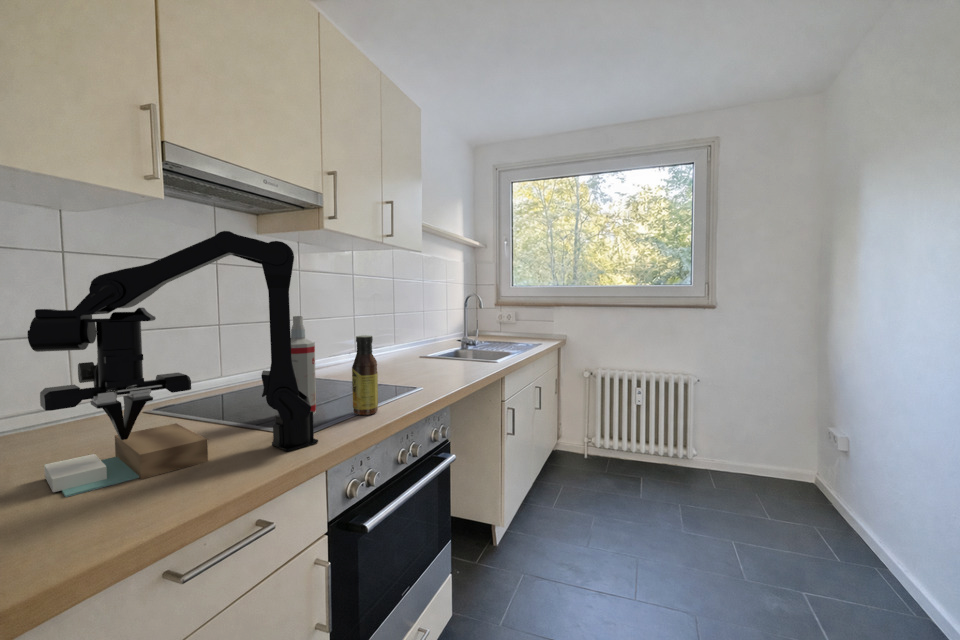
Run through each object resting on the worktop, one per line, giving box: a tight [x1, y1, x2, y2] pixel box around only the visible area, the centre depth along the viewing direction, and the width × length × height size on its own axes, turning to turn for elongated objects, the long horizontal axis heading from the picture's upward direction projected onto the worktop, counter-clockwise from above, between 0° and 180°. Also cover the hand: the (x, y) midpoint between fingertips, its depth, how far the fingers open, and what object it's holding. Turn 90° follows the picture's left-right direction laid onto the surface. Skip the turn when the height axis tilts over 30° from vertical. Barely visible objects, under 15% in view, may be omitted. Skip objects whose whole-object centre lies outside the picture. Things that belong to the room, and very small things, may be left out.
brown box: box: [114, 422, 209, 480], centre depth 75 cm, size 10×16×4 cm, turn 52°
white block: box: [43, 453, 107, 493], centre depth 66 cm, size 6×9×2 cm, turn 52°
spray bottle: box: [290, 315, 317, 416], centre depth 104 cm, size 8×8×25 cm
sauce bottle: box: [351, 334, 379, 416], centre depth 105 cm, size 6×6×20 cm
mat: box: [60, 456, 140, 498], centre depth 68 cm, size 9×14×1 cm, turn 52°
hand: (123, 439), depth 71 cm, fingers closed
